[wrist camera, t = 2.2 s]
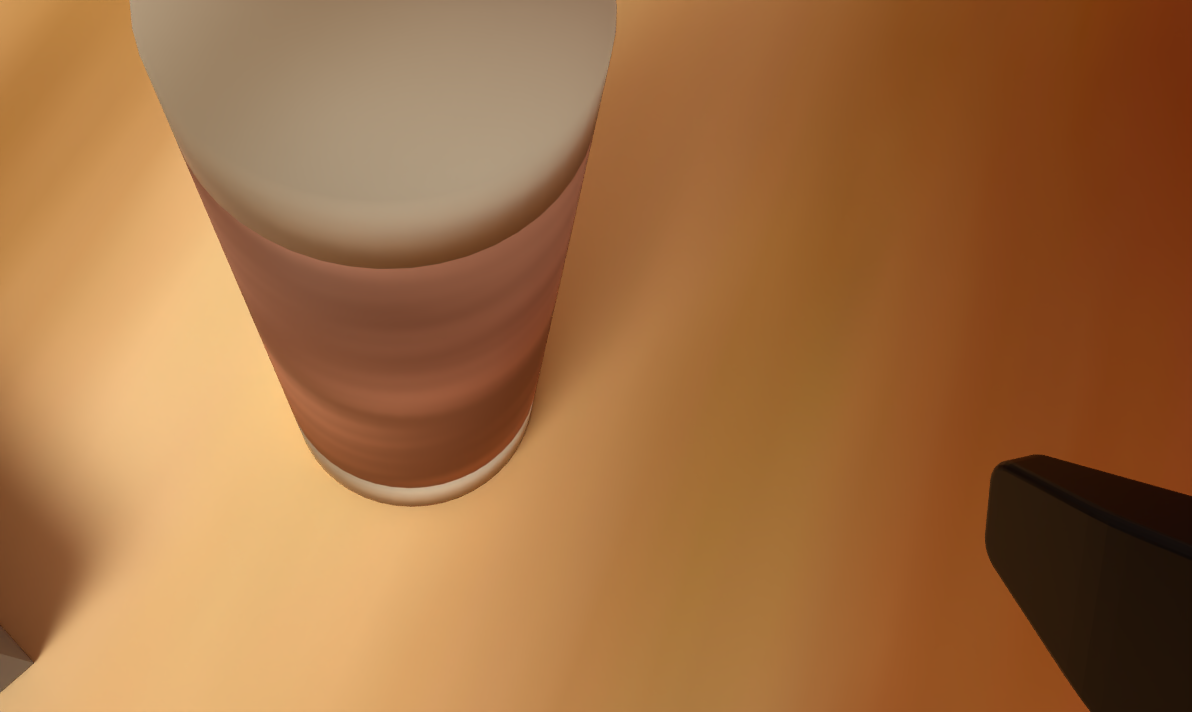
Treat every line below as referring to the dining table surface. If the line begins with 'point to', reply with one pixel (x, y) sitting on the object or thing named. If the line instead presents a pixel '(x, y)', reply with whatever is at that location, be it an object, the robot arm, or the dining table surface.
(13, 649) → the notched board
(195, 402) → the dining table surface
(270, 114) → the bobbin
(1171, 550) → the robot arm
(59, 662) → the dining table surface
